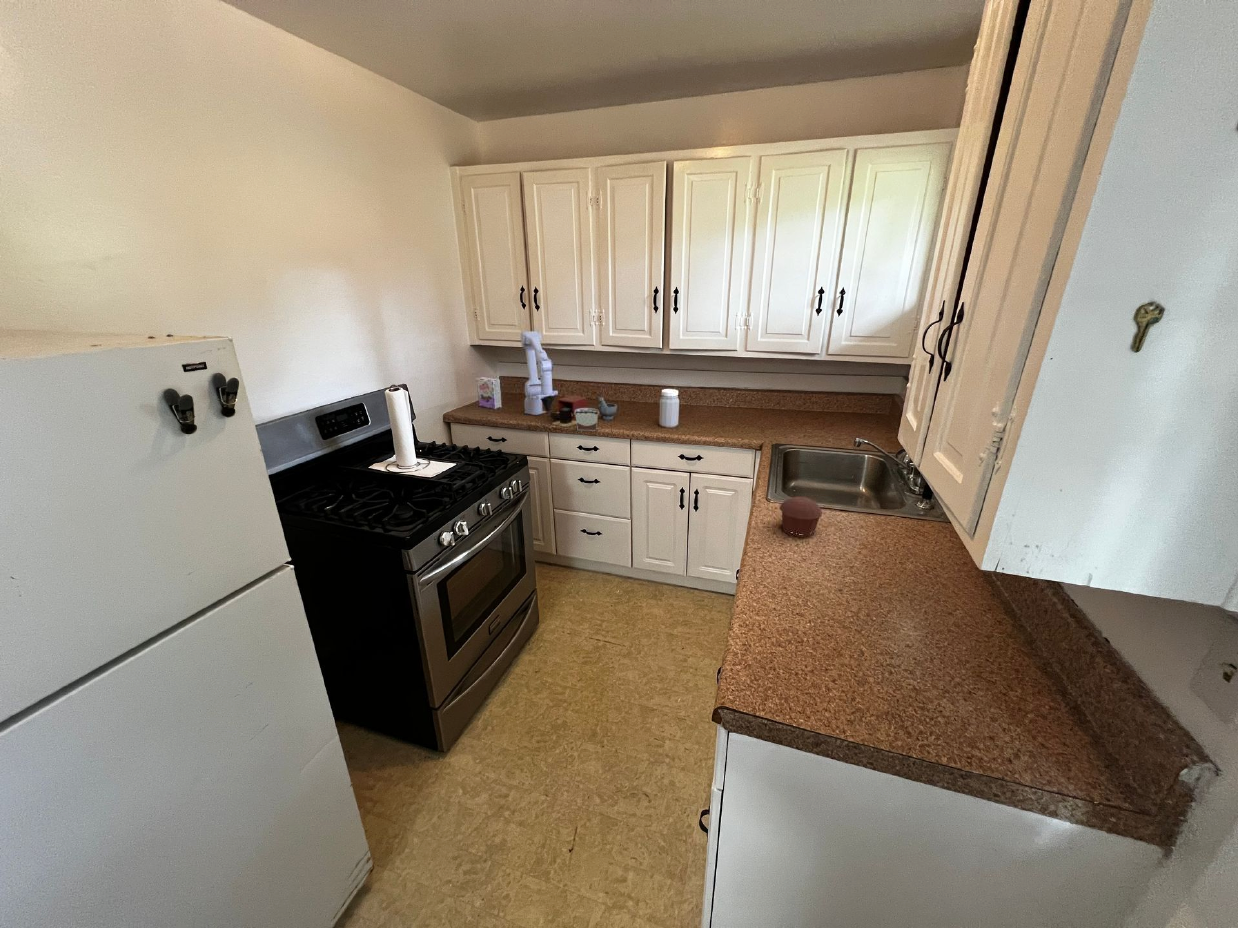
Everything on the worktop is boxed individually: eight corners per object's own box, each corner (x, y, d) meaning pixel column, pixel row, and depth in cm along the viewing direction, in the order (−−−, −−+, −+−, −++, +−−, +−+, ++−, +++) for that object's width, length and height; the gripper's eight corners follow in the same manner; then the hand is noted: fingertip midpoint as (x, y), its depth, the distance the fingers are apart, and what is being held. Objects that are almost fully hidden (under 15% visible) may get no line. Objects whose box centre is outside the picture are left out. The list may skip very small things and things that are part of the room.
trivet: (552, 424, 245) (552, 423, 245) (564, 419, 253) (564, 418, 253) (567, 427, 240) (567, 426, 240) (579, 422, 248) (579, 421, 248)
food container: (601, 427, 241) (600, 407, 237) (599, 430, 235) (599, 411, 231) (576, 426, 242) (576, 407, 238) (574, 430, 236) (574, 410, 232)
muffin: (815, 523, 146) (820, 493, 142) (821, 541, 135) (827, 510, 132) (775, 519, 148) (779, 490, 144) (778, 537, 138) (782, 505, 134)
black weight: (559, 422, 246) (559, 409, 243) (565, 420, 249) (564, 407, 247) (566, 424, 244) (565, 410, 241) (571, 422, 247) (571, 408, 245)
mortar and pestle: (607, 414, 263) (607, 393, 259) (620, 417, 257) (620, 395, 253) (593, 418, 255) (592, 396, 251) (606, 422, 249) (605, 399, 245)
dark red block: (558, 415, 261) (557, 399, 258) (571, 410, 271) (571, 395, 268) (574, 418, 256) (573, 401, 253) (587, 413, 265) (587, 397, 262)
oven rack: (548, 417, 253) (548, 412, 252) (564, 412, 263) (563, 407, 262) (561, 420, 249) (561, 415, 248) (576, 414, 259) (576, 409, 258)
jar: (675, 422, 249) (676, 388, 242) (680, 427, 240) (682, 392, 233) (656, 423, 247) (657, 388, 241) (661, 428, 238) (662, 393, 232)
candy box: (478, 406, 281) (475, 378, 275) (486, 404, 285) (483, 376, 279) (494, 409, 273) (491, 380, 267) (502, 407, 278) (499, 379, 272)
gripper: (542, 388, 232) (544, 415, 237) (561, 383, 244) (563, 409, 249) (532, 386, 236) (533, 413, 241) (551, 381, 247) (552, 407, 252)
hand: (547, 410), depth 245 cm, fingers closed
